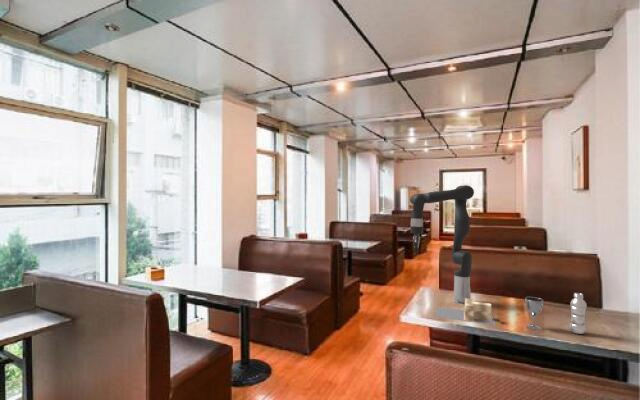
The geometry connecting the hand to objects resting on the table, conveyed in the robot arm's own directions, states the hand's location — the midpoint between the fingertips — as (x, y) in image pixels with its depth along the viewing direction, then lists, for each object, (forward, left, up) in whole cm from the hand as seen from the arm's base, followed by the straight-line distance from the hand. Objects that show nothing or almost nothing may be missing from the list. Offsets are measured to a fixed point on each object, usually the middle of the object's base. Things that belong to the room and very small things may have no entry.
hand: (416, 252), depth 211 cm
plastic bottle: (-41, +71, -32) cm, 88 cm away
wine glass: (-28, +57, -32) cm, 71 cm away
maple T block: (-11, +36, -31) cm, 49 cm away
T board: (-7, +31, -32) cm, 45 cm away
